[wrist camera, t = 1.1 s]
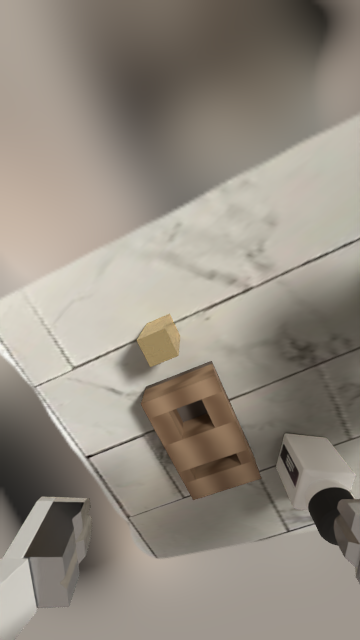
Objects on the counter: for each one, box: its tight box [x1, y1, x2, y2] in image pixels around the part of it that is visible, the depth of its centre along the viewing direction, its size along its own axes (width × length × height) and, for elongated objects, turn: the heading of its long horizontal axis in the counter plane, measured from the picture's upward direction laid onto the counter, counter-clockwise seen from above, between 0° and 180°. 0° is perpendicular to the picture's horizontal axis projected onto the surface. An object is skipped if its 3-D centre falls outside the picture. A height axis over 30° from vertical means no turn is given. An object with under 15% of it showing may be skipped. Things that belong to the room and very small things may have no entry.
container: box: [276, 433, 356, 546], centre depth 36 cm, size 8×8×13 cm
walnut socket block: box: [141, 361, 261, 500], centre depth 39 cm, size 12×20×5 cm, turn 24°
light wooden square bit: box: [137, 314, 180, 367], centre depth 34 cm, size 4×4×8 cm
